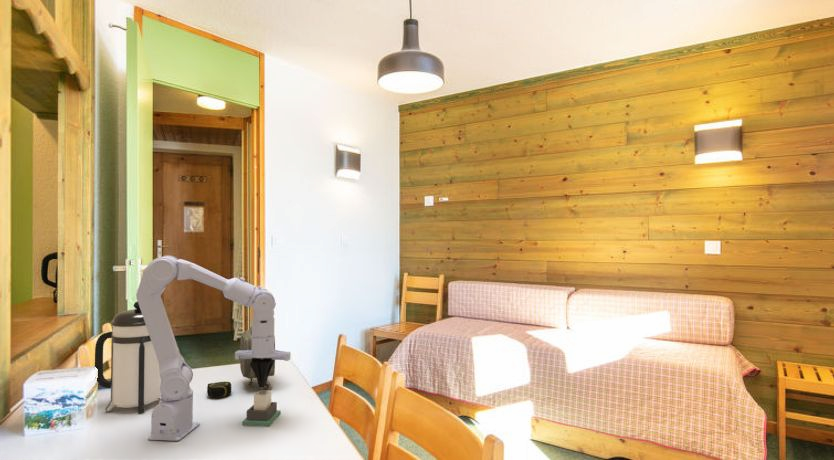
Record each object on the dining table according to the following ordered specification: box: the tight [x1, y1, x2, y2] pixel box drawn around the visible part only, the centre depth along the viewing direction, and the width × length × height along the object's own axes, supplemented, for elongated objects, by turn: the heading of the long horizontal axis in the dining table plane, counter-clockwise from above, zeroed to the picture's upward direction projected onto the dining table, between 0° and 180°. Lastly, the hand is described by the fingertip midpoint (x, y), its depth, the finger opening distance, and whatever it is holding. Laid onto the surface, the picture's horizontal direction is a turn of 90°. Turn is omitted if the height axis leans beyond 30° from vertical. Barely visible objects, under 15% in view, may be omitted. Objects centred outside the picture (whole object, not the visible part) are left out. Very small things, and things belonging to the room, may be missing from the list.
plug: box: [253, 389, 272, 411], centre depth 120 cm, size 4×3×7 cm
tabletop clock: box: [239, 325, 276, 390], centre depth 146 cm, size 14×9×25 cm, turn 27°
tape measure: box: [206, 381, 232, 399], centre depth 137 cm, size 7×7×4 cm
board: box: [241, 401, 282, 427], centre depth 120 cm, size 8×7×4 cm
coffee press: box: [94, 301, 161, 415], centre depth 128 cm, size 17×16×30 cm
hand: (262, 386), depth 120 cm, fingers closed
